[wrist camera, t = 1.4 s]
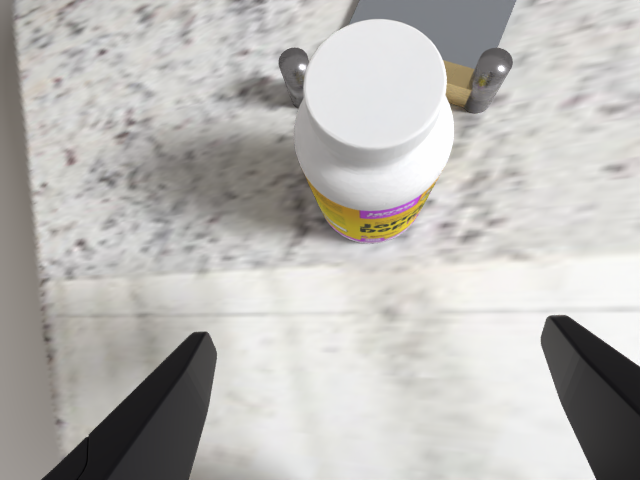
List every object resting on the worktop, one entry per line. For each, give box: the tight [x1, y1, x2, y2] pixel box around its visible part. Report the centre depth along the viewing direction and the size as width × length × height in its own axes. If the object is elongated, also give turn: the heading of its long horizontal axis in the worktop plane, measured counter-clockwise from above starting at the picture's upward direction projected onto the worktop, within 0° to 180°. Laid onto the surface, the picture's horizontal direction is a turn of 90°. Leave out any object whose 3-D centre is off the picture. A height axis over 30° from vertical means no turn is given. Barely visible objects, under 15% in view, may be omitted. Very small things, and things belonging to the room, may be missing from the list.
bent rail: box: [279, 20, 513, 113], centre depth 24 cm, size 13×5×4 cm, turn 67°
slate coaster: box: [349, 0, 516, 69], centre depth 26 cm, size 10×10×1 cm
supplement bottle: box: [294, 19, 454, 244], centre depth 18 cm, size 7×7×13 cm
